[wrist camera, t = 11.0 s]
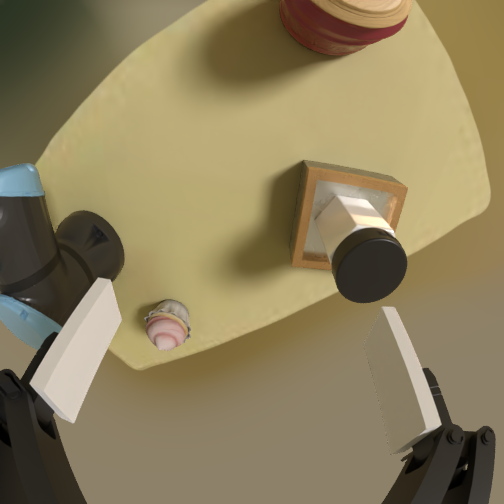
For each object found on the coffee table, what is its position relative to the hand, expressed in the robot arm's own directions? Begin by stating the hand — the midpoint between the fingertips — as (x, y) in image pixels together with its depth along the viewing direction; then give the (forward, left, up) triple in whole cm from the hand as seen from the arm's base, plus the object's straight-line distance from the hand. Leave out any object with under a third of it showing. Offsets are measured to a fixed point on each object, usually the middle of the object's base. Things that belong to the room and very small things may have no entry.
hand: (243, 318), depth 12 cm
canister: (+7, +24, -29) cm, 38 cm away
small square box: (+13, -5, -29) cm, 32 cm away
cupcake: (-14, -29, -29) cm, 43 cm away
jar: (+13, -5, -25) cm, 28 cm away
